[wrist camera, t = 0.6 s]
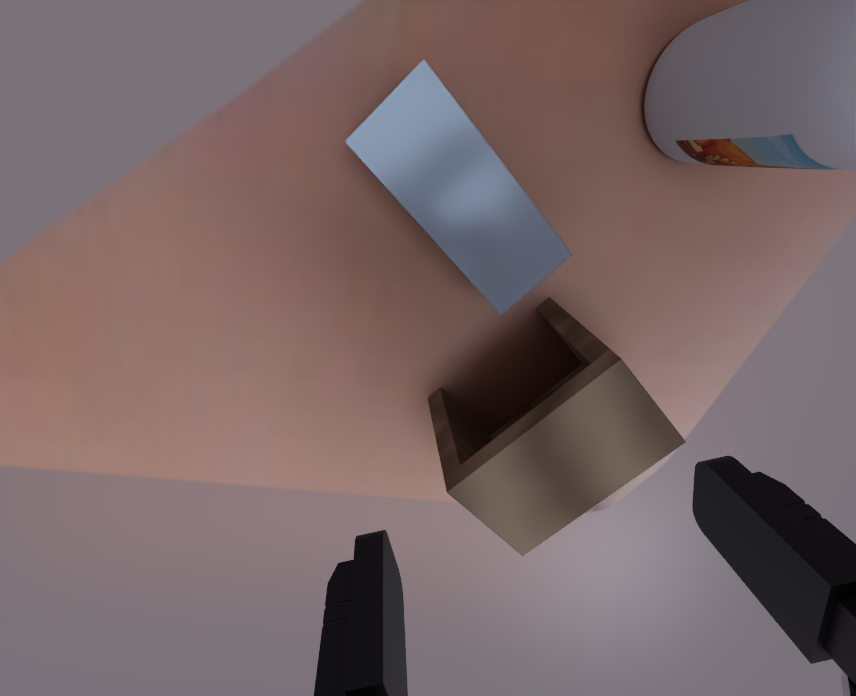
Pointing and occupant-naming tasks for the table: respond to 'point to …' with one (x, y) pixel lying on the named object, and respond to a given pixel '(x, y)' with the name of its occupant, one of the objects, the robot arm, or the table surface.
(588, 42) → the table surface
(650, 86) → the milk bottle
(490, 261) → the pale blue brick
